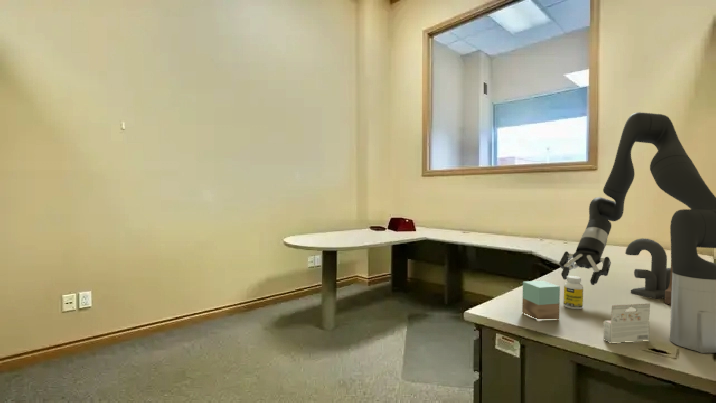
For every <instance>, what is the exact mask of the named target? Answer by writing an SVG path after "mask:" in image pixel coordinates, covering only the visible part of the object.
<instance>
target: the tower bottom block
mask: <svg viewBox="0 0 716 403" xmlns="http://www.w3.org/2000/svg"><path fill="white" fill-rule="evenodd" d="M521 304H522V305H521V306H522V307H521V308H522V310H521V313H522V312H523V313H525V314H528V315H530V316H532V317H534V318H537V319H559V320H560V306H561V305H560V304H546V305H538V304H535V303H533V302H531V301H528V300H526V299H524V298H523V297H522V303H521Z"/></svg>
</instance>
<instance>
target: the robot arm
mask: <svg viewBox="0 0 716 403" xmlns="http://www.w3.org/2000/svg"><path fill="white" fill-rule="evenodd" d="M619 139H620V140H619V143H618V147H617V150H616V154H615V159H614V162H613V165H612V168H611V171H610V173H609V176H608V178H607V179H606V181H605V184H604V186H603V189H602V192H603V194H604V195H606V196H607V197H609V198H610V199H607V198H604V197H601V196H599V197H594V198H593V199H592V200H590V203H589V206H588V207H589V208H588V213H589V214H588V215H589V217H588V221H587V225H586V228H585V230H584V231H583V233H582V234H581V237H580V240H579V242H578V244H577V247H576V250H575V252H574V253H569V252H568V251H564V253H563V255H562V257H561V259H560V261H559V262H558V265H559V267H560V269H562V271H561V273H560V275H561V277H562V279H563V280H565V281H567V276H569V275H570V271H572V270H573V269H577V268H581V269H582V268H585V269H588V270H590V269H592V270H593V272H592V274H591V278H590V280H589V282H590V285H591V286H595V285H596V284H598V282H599V278H600V277H601V276H604V277H607V276H608V275H609V271H610V267H611V264H612V262H611V259H610V257H609V256H605V257H602V256H603V253H604V250H605V248H606V247H607V243H608V238H609V235H610V233H611V229H612V223H611V222H618V221H619V220H620V219H621V218H622V217H623V214H624V209H625V208H624V207H625V202H626V201H625V200H626V197H627V194H628V192H629V190H630V187H631V186H632V184H633V182H634V178H635V168H634V164H633V160H632V159H633V158H632V149H633V148H634V147H633V146H634V145H635V143H643V144H644V143H645V144H652V145H654V146H655V148H656V149H657V152H656V153H655V155H654V156H653V158H652V159H651V160H650V164H649V171H650V173H651V175H652V177H653V180H654V181H655V184H656V185H657V186H658V188H659V189H660V190H662V192H664V193H666V194H667V195H668V196H670V197H671V198H674V199H675V200H677V201H679V202H681V203H682V204H684V205H685V206H687V207H688V208H687V209H686V208H682V209H678V210H676V211H675V212H674V213H673V215H672V217H671V219H670V227H669V228H670V231H669V233H670V262H671V261H672V293H671V305H670V323H669V324H670V325H669V326H670V328H669V329H670V330H669V340H670V342H672V343H673V344H674V345H677V346H678V347H682V348H685V349H688V350H692V351H696V352H699V353H701V354H703V353H704V354H706V353H707V354H708V353H709V354H711V353H712V354H715V353H716V263H715V262H712V261H708V260H706V259H704V258H703V257H701V256H700V255H699V254H698V249H697V248H706V249H716V195H714V193H713V192H712V191H711V189H710V188H709V186H708V185H707V183H706V182H705V180H704V179H703V178H702V176H701V175H700V173H699V171H698V169H697V167H696V166H695V164H694V163H693V160H692V159H691V158H690V156H689V155H688V153H687V152H686V150H685V149H684V146H683V145H682V143H681V141H680V139H679V136H678V134H677V131H676V129H675V126H674V124H673V122H672V120H671V118H669V116H667V115H665V114H661V113H652V112H651V113H650V112H641V111H640V112H634V113H632V114H631V115H630V116H629V117H628V118H627V120H626V121H625V123H624V127H623V129H622V133H621V136H620V138H619ZM611 199H612V200H611ZM600 263H601V264H602V266H601V267H602V268H601V269H599V268H598V266H597V265H599V264H600Z"/></svg>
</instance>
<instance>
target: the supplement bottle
mask: <svg viewBox="0 0 716 403" xmlns="http://www.w3.org/2000/svg"><path fill="white" fill-rule="evenodd" d="M581 283H582V277H580V276H578V275H577V276H576V275H568V276H567V279H566V282H565V283H564V285H563V307H565V308H567V309H572V310H581V309H583V305H584V303H583V302H584V285H583V284H581Z"/></svg>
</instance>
